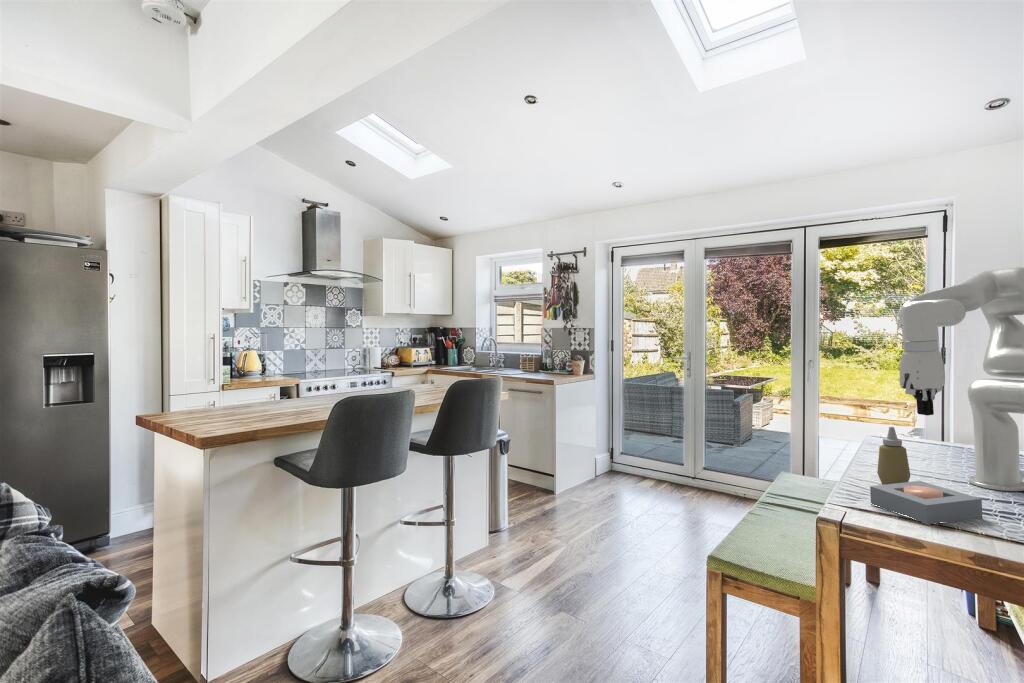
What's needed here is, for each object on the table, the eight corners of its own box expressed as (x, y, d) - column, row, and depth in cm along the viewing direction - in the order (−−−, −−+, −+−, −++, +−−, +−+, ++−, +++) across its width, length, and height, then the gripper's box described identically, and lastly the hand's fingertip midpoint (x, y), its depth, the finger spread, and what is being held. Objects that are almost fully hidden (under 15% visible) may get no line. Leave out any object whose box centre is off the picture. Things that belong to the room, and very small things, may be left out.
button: (922, 502, 135) (921, 484, 135) (952, 512, 128) (951, 493, 128) (896, 505, 134) (895, 487, 134) (925, 516, 126) (924, 496, 126)
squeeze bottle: (897, 491, 146) (895, 430, 146) (871, 484, 154) (868, 426, 154) (918, 488, 149) (915, 428, 148) (890, 481, 156) (888, 423, 156)
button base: (920, 498, 140) (919, 480, 140) (982, 518, 124) (981, 498, 124) (870, 504, 138) (870, 486, 138) (927, 525, 122) (926, 505, 122)
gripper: (930, 344, 140) (934, 409, 140) (885, 349, 138) (889, 415, 138) (958, 345, 133) (962, 413, 133) (911, 350, 130) (915, 419, 131)
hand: (925, 414), depth 136 cm, fingers closed
